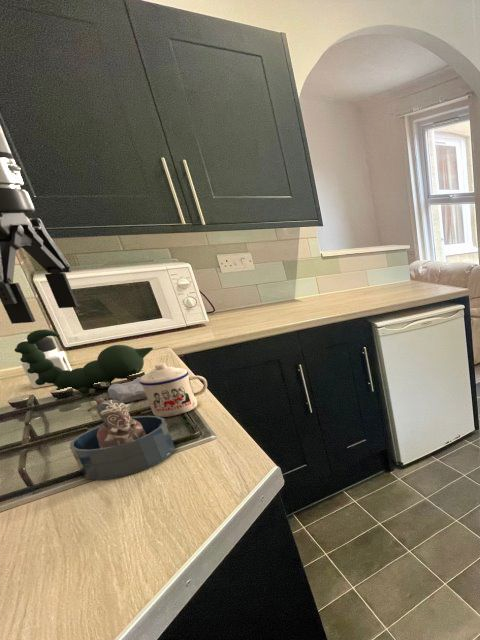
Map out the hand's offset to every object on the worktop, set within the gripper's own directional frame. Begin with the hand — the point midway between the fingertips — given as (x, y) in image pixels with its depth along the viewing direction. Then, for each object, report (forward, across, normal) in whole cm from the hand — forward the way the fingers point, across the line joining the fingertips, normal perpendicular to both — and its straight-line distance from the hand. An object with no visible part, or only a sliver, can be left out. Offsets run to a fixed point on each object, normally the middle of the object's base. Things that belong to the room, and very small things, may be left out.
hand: (48, 314), depth 77 cm
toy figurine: (+28, +39, +15) cm, 50 cm away
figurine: (+26, -11, -9) cm, 30 cm away
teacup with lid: (+27, +13, -10) cm, 32 cm away
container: (+28, +51, +32) cm, 66 cm away
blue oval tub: (+27, -11, -9) cm, 30 cm away
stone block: (+27, +28, +2) cm, 39 cm away
